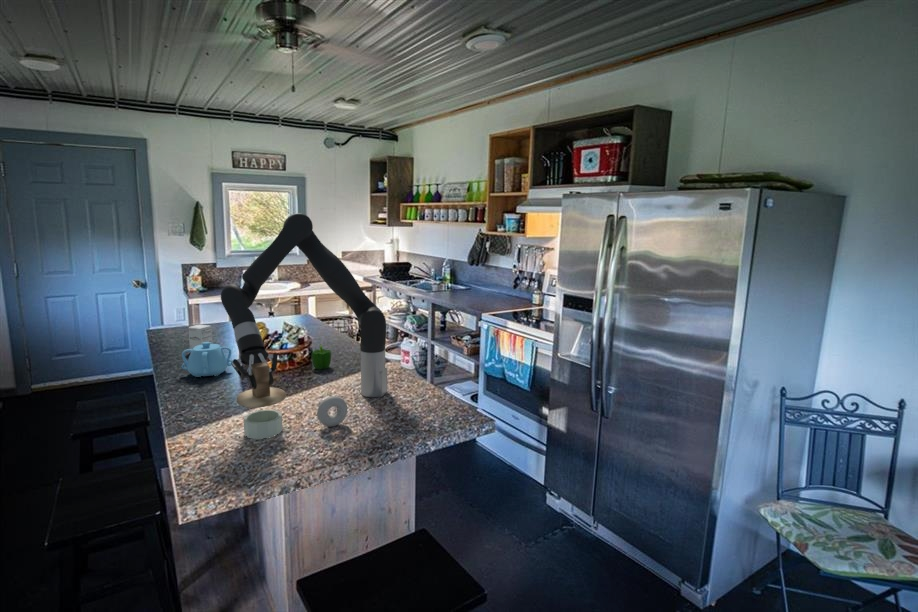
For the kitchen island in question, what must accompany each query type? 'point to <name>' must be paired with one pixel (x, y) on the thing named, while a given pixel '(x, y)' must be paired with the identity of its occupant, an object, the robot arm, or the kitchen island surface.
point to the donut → (326, 405)
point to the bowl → (262, 424)
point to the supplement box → (199, 335)
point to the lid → (261, 390)
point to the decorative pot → (206, 360)
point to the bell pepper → (321, 358)
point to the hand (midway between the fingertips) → (263, 386)
